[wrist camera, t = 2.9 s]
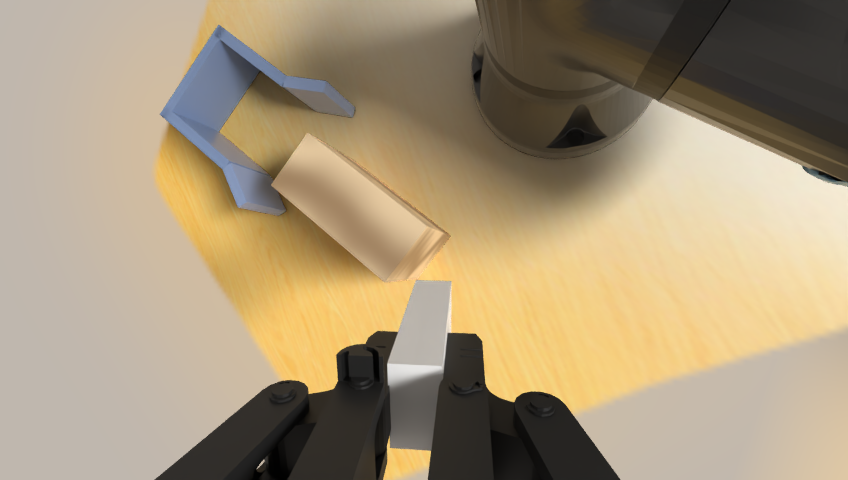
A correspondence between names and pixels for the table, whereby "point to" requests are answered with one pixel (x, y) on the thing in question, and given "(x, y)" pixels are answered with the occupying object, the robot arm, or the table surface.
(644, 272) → the table surface
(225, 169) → the blue u-shaped bracket
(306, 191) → the block
